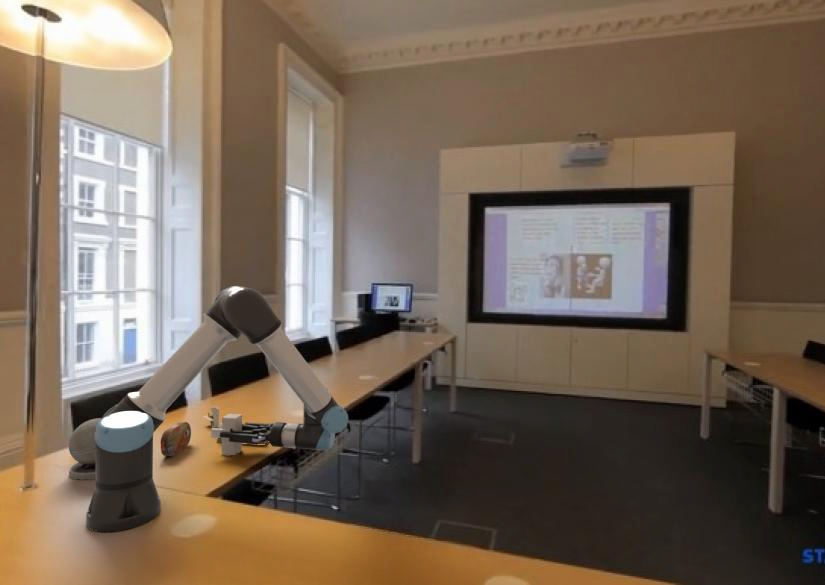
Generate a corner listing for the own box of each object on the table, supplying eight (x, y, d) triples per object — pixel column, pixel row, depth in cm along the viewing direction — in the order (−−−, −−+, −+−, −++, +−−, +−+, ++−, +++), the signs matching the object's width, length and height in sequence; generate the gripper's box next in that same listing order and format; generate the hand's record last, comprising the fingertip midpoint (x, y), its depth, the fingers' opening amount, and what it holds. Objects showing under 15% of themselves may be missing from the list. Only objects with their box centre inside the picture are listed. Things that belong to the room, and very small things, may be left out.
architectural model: (209, 430, 177) (210, 410, 177) (202, 425, 182) (202, 406, 182) (218, 428, 180) (219, 408, 179) (211, 424, 185) (211, 405, 184)
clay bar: (234, 455, 152) (235, 418, 152) (221, 454, 153) (222, 417, 152) (241, 450, 157) (242, 414, 156) (228, 449, 157) (229, 413, 157)
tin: (168, 460, 147) (168, 433, 147) (158, 460, 147) (158, 433, 147) (191, 443, 162) (192, 418, 162) (182, 443, 162) (182, 418, 162)
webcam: (119, 475, 136) (120, 423, 135) (64, 483, 130) (64, 428, 129) (123, 459, 147) (123, 411, 147) (72, 465, 141) (73, 415, 141)
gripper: (274, 456, 144) (201, 451, 147) (295, 437, 161) (229, 432, 164) (274, 432, 144) (201, 427, 146) (295, 415, 161) (229, 411, 164)
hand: (216, 430), depth 155 cm, fingers closed on clay bar, 4 cm apart
